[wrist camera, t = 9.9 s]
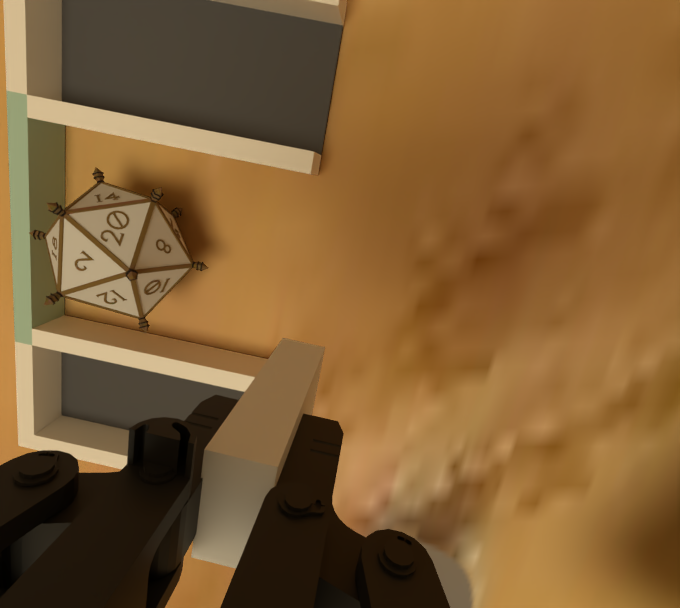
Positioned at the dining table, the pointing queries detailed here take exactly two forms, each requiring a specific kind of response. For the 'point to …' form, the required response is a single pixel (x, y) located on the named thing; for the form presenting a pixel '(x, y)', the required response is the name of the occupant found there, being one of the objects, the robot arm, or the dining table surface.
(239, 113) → the pads
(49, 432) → the trap box
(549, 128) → the dining table surface
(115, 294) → the game die
